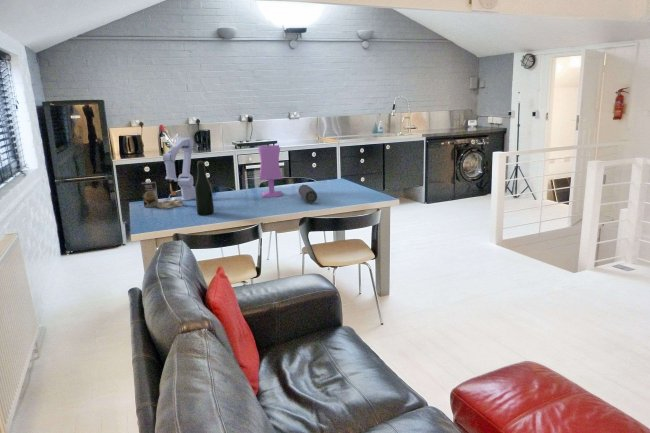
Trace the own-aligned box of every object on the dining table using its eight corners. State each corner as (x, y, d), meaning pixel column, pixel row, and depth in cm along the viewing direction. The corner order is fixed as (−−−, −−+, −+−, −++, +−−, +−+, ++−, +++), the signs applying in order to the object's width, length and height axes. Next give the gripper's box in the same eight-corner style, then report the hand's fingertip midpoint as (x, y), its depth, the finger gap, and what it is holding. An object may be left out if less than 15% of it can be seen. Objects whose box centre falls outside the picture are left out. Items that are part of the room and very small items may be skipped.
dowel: (174, 194, 321) (172, 179, 318) (176, 194, 318) (174, 180, 316) (170, 195, 319) (168, 180, 316) (172, 195, 317) (170, 181, 314)
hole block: (176, 203, 326) (176, 198, 325) (183, 205, 319) (182, 200, 318) (157, 206, 317) (156, 202, 317) (163, 209, 310) (162, 204, 309)
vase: (283, 196, 335) (280, 147, 326) (261, 198, 333) (257, 148, 324) (281, 192, 350) (279, 145, 341) (260, 193, 348) (257, 146, 339)
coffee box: (144, 207, 317) (140, 183, 312) (144, 205, 323) (141, 182, 318) (158, 206, 319) (155, 182, 315) (158, 204, 325) (155, 181, 321)
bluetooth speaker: (297, 198, 328) (297, 184, 325) (310, 197, 330) (310, 183, 327) (304, 205, 306) (303, 190, 304) (318, 204, 308) (317, 189, 306)
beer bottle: (197, 216, 288) (191, 162, 279) (197, 212, 297) (191, 160, 289) (214, 214, 290) (209, 161, 282) (214, 211, 300) (209, 159, 291)
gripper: (160, 170, 317) (163, 190, 321) (169, 172, 307) (172, 193, 310) (170, 169, 322) (172, 188, 325) (179, 171, 311) (182, 191, 315)
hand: (173, 190), depth 318 cm, fingers closed on dowel, 3 cm apart
